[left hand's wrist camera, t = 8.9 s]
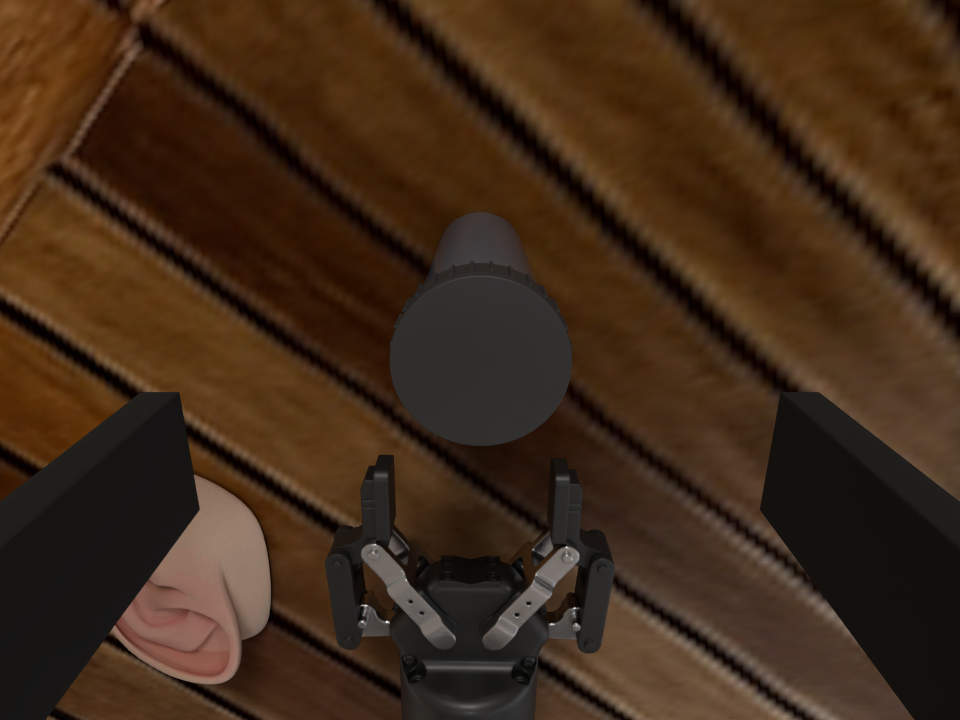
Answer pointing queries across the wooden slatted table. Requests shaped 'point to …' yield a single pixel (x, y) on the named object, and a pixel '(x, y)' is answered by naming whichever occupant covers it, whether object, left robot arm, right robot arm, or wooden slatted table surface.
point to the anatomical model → (203, 594)
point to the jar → (480, 244)
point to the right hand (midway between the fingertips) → (471, 463)
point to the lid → (480, 354)
